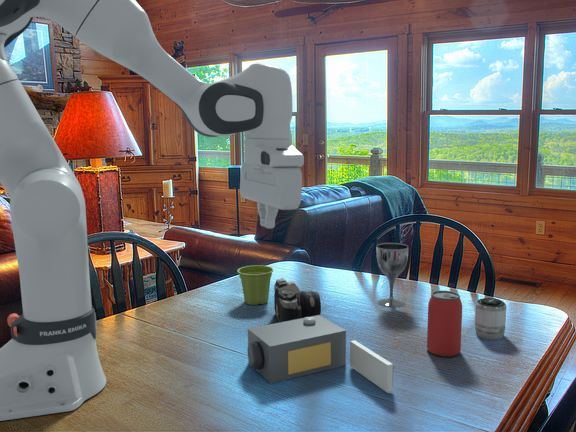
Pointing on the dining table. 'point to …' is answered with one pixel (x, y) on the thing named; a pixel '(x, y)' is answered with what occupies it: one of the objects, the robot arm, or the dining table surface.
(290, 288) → the camera
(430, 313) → the beer can
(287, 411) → the dining table surface
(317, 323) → the block
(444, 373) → the dining table surface
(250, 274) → the plant pot
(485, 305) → the camera lens
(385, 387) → the side door
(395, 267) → the wine glass
